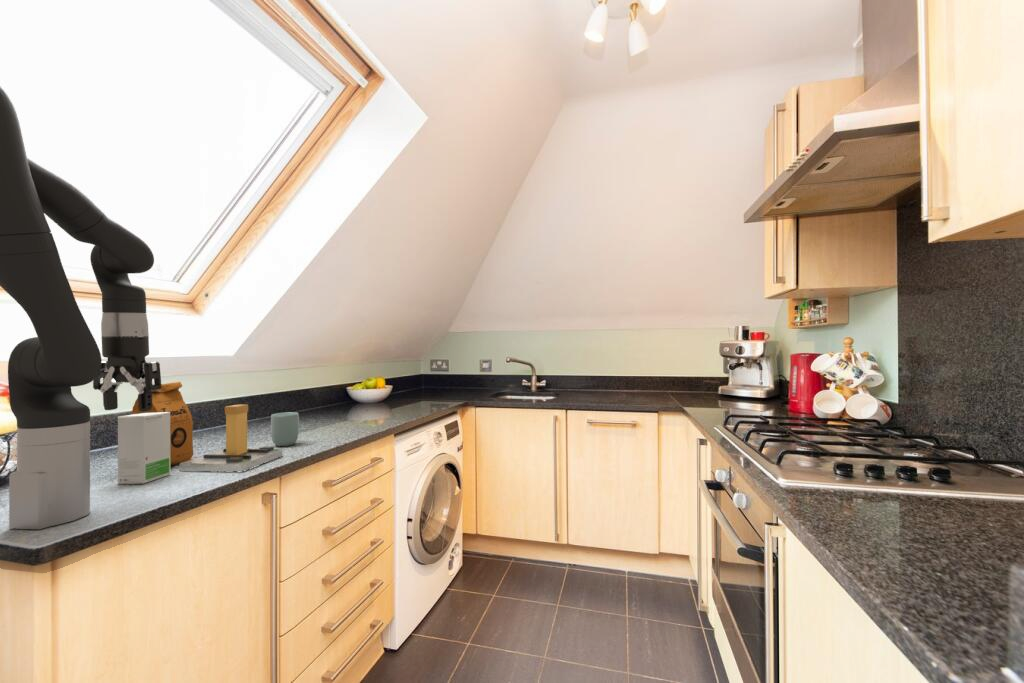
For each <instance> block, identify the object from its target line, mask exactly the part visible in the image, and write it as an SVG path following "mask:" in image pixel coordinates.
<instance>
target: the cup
mask: <svg viewBox="0 0 1024 683" xmlns="http://www.w3.org/2000/svg"><path fill="white" fill-rule="evenodd" d="M299 431H300V415H299V412H295V411H293V412H292V411H287V412H277V413H273V414H271V415H270V436H271V440H272V443H273V444H274V445H275V446H276V447H280V446H284V447H289V445H290V446H293V445H294V444H296V443H297V441H298V439H299V433H300V432H299Z"/></svg>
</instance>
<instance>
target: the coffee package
mask: <svg viewBox="0 0 1024 683" xmlns="http://www.w3.org/2000/svg"><path fill="white" fill-rule="evenodd" d="M161 386H162V387H161V389H159V390H155V391H154V392H153V393H152V408H151V410H149V411H139V407H138V397H136V400H135V402H134V403H133V406H132V410H131V415H133V414H141V413H156V412H170V466H175V465H177V464H180V463H182V462H185V461H189V460H192V459H193V456H194V445H193V443H194V441H193V430H194V428H193V425H194V421H193V417H192V416H193V415H192V414H191V411H190V409H189V407H188V405H187V403H186V402H185V400H184V398H183V395H182V392H181V391H179V390H180V388H182V387H183V385H182V382H181V381H177V382H169V383H161ZM143 387H145V386H144V385H143ZM138 394H140V393H139V392H138Z"/></svg>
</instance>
